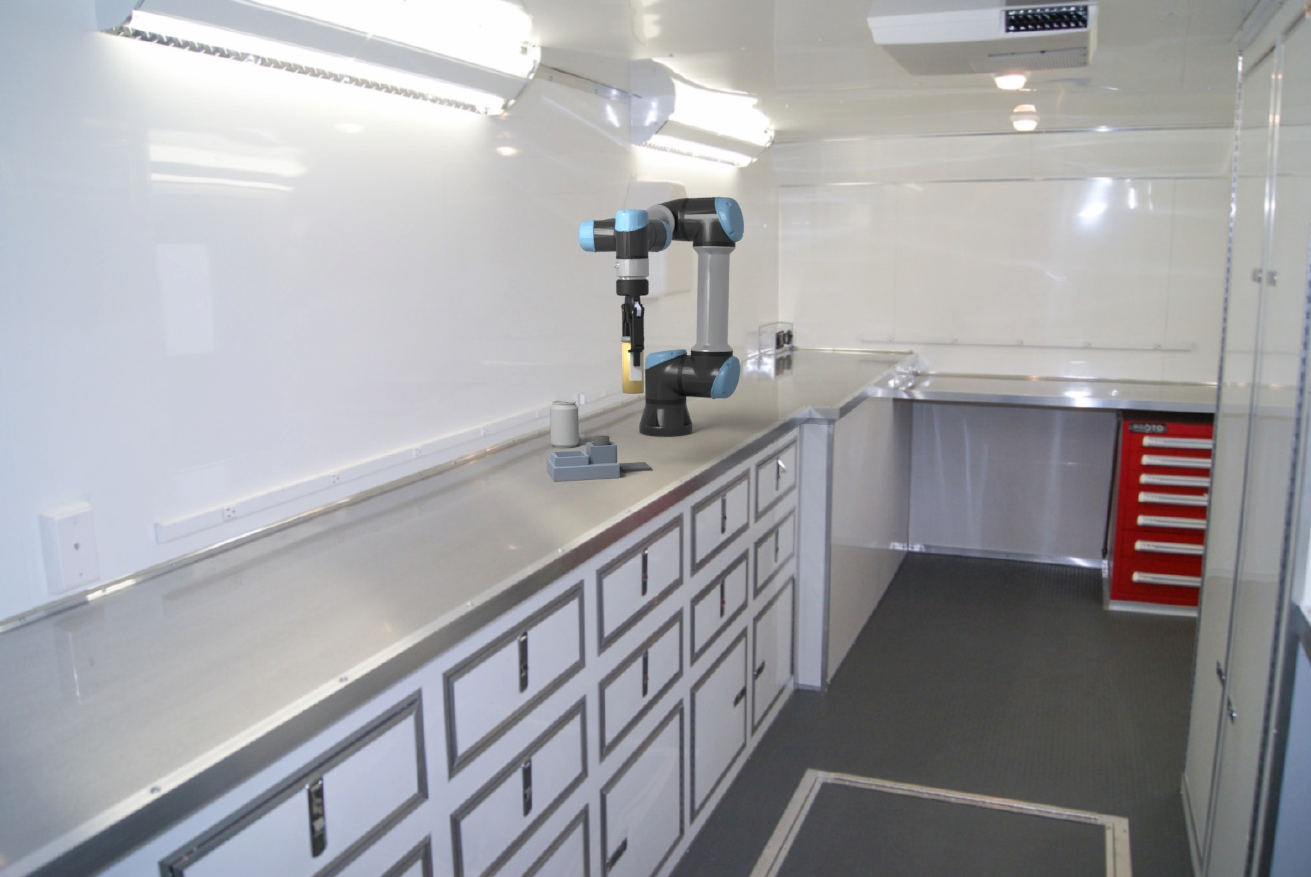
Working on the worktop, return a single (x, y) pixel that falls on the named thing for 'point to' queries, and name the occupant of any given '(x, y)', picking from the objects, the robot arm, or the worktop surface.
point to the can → (564, 424)
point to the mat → (634, 466)
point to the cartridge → (628, 385)
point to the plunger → (601, 440)
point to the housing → (584, 463)
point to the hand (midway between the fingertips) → (633, 378)
